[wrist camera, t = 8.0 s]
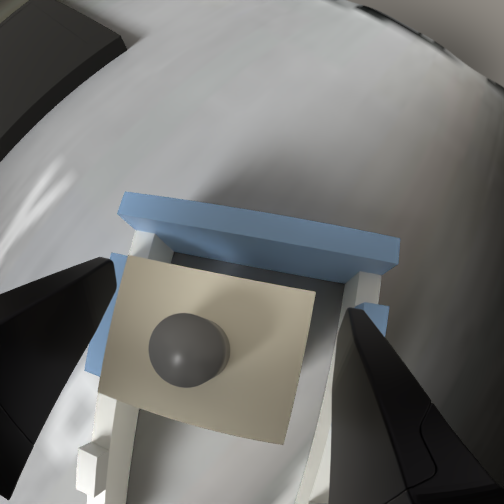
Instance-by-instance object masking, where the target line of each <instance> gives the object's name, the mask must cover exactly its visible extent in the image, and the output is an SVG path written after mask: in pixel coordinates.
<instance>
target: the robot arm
mask: <svg viewBox="0 0 504 504" xmlns="http://www.w3.org/2000/svg"><path fill="white" fill-rule="evenodd" d="M116 289H117V280H116V274H115V268H114V263H113V261H112V260H111V259H107V258H103V257H98V258H95V259H92V260H90V261H87V262H84V263H81V264H78V265H76V266H73V267H70V268H68V269H65V270H62V271H59V272H57V273H54V274H51V275H49V276H46V277H43V278H41V279H38V280H36V281H33V282H30V283H28V284H25V285H23V286H20V287H17V288H15V289H12V290H10V291H7V292H5V293H2V294H0V495H1V496H3V497H4V498H6V499H7V500H9V499H10V498H11V496H12V494H13V491H14V489H15V487H16V484H17V482H18V480H19V477H20V475H21V473H22V470H23V468H24V466H25V464H26V462H27V459H28V457H29V455H30V453H31V451H32V449H33V447H34V444H35V442H36V440H37V438H38V436H39V434H40V432H41V430H42V428H43V426H44V424H45V422H46V420H47V418H48V416H49V414H50V412H51V410H52V408H53V407H54V405H55V403H56V401H57V399H58V397H59V395H60V394H61V392H62V390H63V388H64V386H65V384H66V383H67V381H68V379H69V377H70V375H71V374H72V372H73V370H74V368H75V367H76V365H77V363H78V361H79V360H80V358H81V356H82V355H83V353H84V351H85V349H86V348H87V346H88V344H89V343H90V341H91V339H92V338H93V336H94V334H95V332H96V331H97V329H98V327H99V325H100V322H101V320H102V318H103V316H104V314H105V312H106V310H107V308H108V306H109V304H110V302H111V300H112V298H113V296H114V294H115V292H116ZM328 504H504V489H503V488H502V487H501V486H499V485H498V484H497V483H496V482H495V481H494V480H493V479H492V478H491V476H490V475H489V474H488V473H487V471H486V470H485V469H484V468H483V467H482V465H481V464H480V463H479V462H478V460H477V459H476V458H475V457H474V456H473V454H472V453H471V452H470V451H469V450H468V448H467V447H466V446H465V445H464V444H463V442H462V441H461V440H460V439H459V437H458V436H457V435H456V434H455V432H454V431H453V430H452V429H451V427H450V426H449V424H448V423H447V422H446V420H445V419H444V418H443V416H442V415H441V414H440V412H439V411H438V409H437V408H436V406H435V405H434V404H433V403H431V400H430V398H429V397H428V395H427V394H426V393H425V391H424V390H423V388H422V387H421V386H420V384H419V383H418V381H417V380H416V379H415V377H414V376H413V375H412V373H411V372H410V370H409V369H408V368H407V366H406V365H405V364H404V362H403V361H402V360H401V358H400V357H399V356H398V354H397V353H396V352H395V350H394V349H393V348H392V346H391V345H390V344H389V342H388V341H387V340H386V338H385V337H384V336H383V334H382V333H381V332H380V330H379V329H378V328H377V327H376V325H375V324H374V323H373V321H372V320H371V319H370V318H369V316H368V315H367V314H366V312H365V311H364V310H362V309H358V308H352V307H349V308H347V310H346V312H345V315H344V317H343V320H342V323H341V326H340V329H339V332H338V336H337V344H336V354H335V364H334V373H333V382H332V414H331V460H330V483H329V500H328Z"/></svg>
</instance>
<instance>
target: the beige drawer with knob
mask: <svg viewBox="0 0 504 504" xmlns="http://www.w3.org/2000/svg"><path fill="white" fill-rule="evenodd" d="M315 294H316V292H314V291H308V290H303V289H297V288H292V287H286V286H281V285H276V284H270V283H265V282H260V281H254V280H249V279H244V278H239V277H234V276H229V275H224V274H219V273H213V272H208V271H204V270H199V269H194V268H189V267H184V266H179V265H174V264H169V263H165V262H160V261H155V260H150V259H146V258H141V257H136V256H132V255H128V257H127V261H126V264H125V268H124V272H123V275H122V279H121V283H120V287H119V291H118V295H117V299H116V303H115V307H114V311H113V316H112V320H111V325H110V329H109V334H108V338H107V343H106V348H105V353H104V358H103V364H102V369H101V375H100V381H99V387H98V393H101V394H103V395H106V396H108V397H111V398H113V399H116V400H118V401H121V402H123V403H126V404H129V405H132V406H134V407H137V408H140V409H143V410H146V411H149V412H151V413H154V414H157V415H161V416H164V417H167V418H170V419H173V420H177V421H180V422H183V423H187V424H190V425H194V426H197V427H201V428H205V429H209V430H213V431H217V432H221V433H225V434H229V435H234V436H238V437H243V438H248V439H252V440H258V441H263V442H268V443H274V444H280V445H284V441H285V437H286V433H287V429H288V425H289V420H290V416H291V412H292V408H293V404H294V399H295V395H296V390H297V386H298V381H299V377H300V372H301V367H302V362H303V358H304V353H305V348H306V343H307V338H308V332H309V327H310V322H311V316H312V311H313V305H314V300H315Z"/></svg>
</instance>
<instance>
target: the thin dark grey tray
mask: <svg viewBox="0 0 504 504" xmlns="http://www.w3.org/2000/svg"><path fill="white" fill-rule="evenodd" d="M125 51H127V49H126V47H125V44H124V42H123V40H122V38H121V36H120V35H118V34H117V33H115V32H113V31H112V30H110V29H108V28H106V27H105V26H103V25H101V24H99V23H98V22H96V21H94V20H92V19H90V18H89V17H87V16H85V15H83V14H81V13H79V12H77V11H76V10H74V9H72V8H70V7H68V6H66V5H64V4H62V3H60V2H58V1H56V0H29V1H28V2H26V3H25V4H24V5H23V6H21V7H20V8H19V9H17V10H16V11H15V12H14V13H12V14H11V15H10V16H9V17H8V18H6V19H5V20H4V21H3V22H2V23H0V162H1V161H2V160H3V158H4V157H5V156H6V155H7V154H8V153H9V152H10V151H11V150H12V148H13V147H14V146H15V145H16V144H17V143H18V142H19V141H20V140H21V139H22V138H23V137H24V136H25V135H26V134H27V133H28V132H29V131H30V130H31V129H32V128H33V127H34V126H35V125H36V124H37V123H38V122H39V121H40V120H41V119H42V118H43V117H44V116H45V115H46V114H47V113H48V112H49V111H51V110H52V109H53V108H54V107H55V106H56V105H57V104H58V103H59V102H61V101H62V100H63V99H64V98H65V97H66V96H67V95H69V94H70V93H71V92H72V91H73V90H75V89H76V88H77V87H78V86H79V85H81V84H82V83H83V82H84V81H86V80H87V79H88V78H89V77H91V76H92V75H93V74H95V73H96V72H97V71H99V70H100V69H101V68H103V67H104V66H105V65H107V64H108V63H109V62H111V61H112V60H114V59H115V58H116V57H118V56H119V55H121V54H122V53H124V52H125Z"/></svg>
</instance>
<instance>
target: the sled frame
mask: <svg viewBox="0 0 504 504" xmlns="http://www.w3.org/2000/svg"><path fill="white" fill-rule="evenodd" d="M117 214H118V215H119V216H120V217H121V218H122V219H124V220H125V221H126V222H127V223H128V224H129V225H130V226H132V227H133V228H134V229H135V230H136V231H135V234H134V237H133V241H132V244H131V248H130V251H129V255H132V256H136V257H141V258H146V259H150V260H155V261H160V262H165V263H169V264H171V261H172V257H173V254H174V252H178V253H183V254H188V255H193V256H198V257H204V258H209V259H214V260H219V261H224V262H230V263H235V264H240V265H245V266H251V267H256V268H261V269H267V270H272V271H277V272H283V273H288V274H294V275H299V276H305V277H310V278H316V279H321V280H327V281H332V282H338V283H343V284H345V287H344V293H343V300H342V306H341V312H340V318H339V324H338V329H337V335H336V340H335V346H334V351H333V356H332V361H331V366H330V371H329V376H328V380H327V385H326V389H325V394H324V398H323V402H322V407H321V411H320V415H319V419H318V423H317V427H316V431H315V435H314V439H313V442H312V446H311V450H310V453H309V457H308V461H307V464H306V468H305V471H304V474H303V478H302V481H301V484H300V488H299V491H298V494H297V497H296V500H295V503H294V504H328V500H329V483H330V460H331V414H332V382H333V373H334V364H335V354H336V344H337V336H338V332H339V329H340V326H341V323H342V320H343V317H344V315H345V312H346V310H347V308H349V307H352V308H358V309H362V310H364V311H365V312H366V314H367V315H368V316H369V318H370V319H371V320H372V321H373V323H374V324H375V325H376V327H377V328H378V329H379V330H380V332H381V333H382V334H383V336H384V337H385V334H386V327H387V321H388V314H389V306H385V305H379V304H378V302H379V295H380V287H381V278H382V275H383V274H384V273H386V272H387V271H389V270H390V269H392V268H393V267H395V266H396V265H398V264H399V251H400V238H397V237H392V236H387V235H382V234H378V233H373V232H368V231H363V230H358V229H353V228H348V227H342V226H337V225H332V224H327V223H321V222H316V221H311V220H305V219H300V218H294V217H288V216H283V215H277V214H271V213H265V212H260V211H254V210H248V209H241V208H235V207H229V206H223V205H216V204H210V203H203V202H197V201H190V200H183V199H176V198H169V197H162V196H155V195H147V194H140V193H132V192H125V193H124V195H123V198H122V201H121V204H120V207H119V210H118V213H117ZM127 257H128V256H125V255H121V254H116V253H111V256H110V259H111V260H112V261H113V263H114V268H115V274H116V280H117V289H116V292H115V294H114V296H113V298H112V300H111V302H110V304H109V306H108V308H107V310H106V312H105V314H104V316H103V318H102V320H101V322H100V325H99V327H98V329H97V331H96V332H95V334H94V336H93V338H92V339H91V341H90V343H89V348H88V353H87V359H86V364H85V370H84V371H87V372H89V373H92V374H94V375H97V376H99V377H100V375H101V369H102V364H103V358H104V353H105V348H106V343H107V338H108V334H109V329H110V325H111V320H112V316H113V311H114V307H115V303H116V299H117V295H118V291H119V287H120V283H121V279H122V275H123V272H124V268H125V264H126V261H127ZM138 413H139V408H137V407H134V406H132V405H129V404H126V403H123V402H121V401H118V400H116V399H113V398H111V397H108V396H106V395H103V394H101V393H98V395H97V402H96V409H95V416H94V424H93V433H92V442H90V443H88V444H86V445H84V446H82V447H79V448H78V457H77V473H76V489H77V490H79V491H81V492H83V493H85V494H87V504H126V499H127V490H128V481H129V473H130V466H131V458H132V451H133V444H134V438H135V431H136V425H137V419H138Z"/></svg>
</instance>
